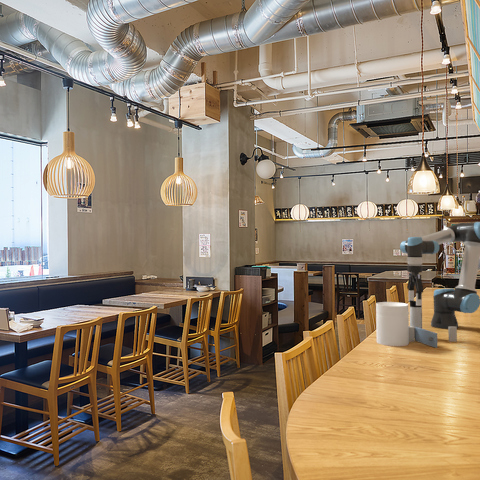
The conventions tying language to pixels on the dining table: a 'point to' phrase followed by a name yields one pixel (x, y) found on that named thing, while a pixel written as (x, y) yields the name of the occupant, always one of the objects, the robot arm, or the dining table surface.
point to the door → (425, 336)
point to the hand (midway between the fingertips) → (415, 303)
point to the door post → (411, 334)
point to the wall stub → (452, 334)
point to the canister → (392, 323)
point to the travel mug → (415, 314)
